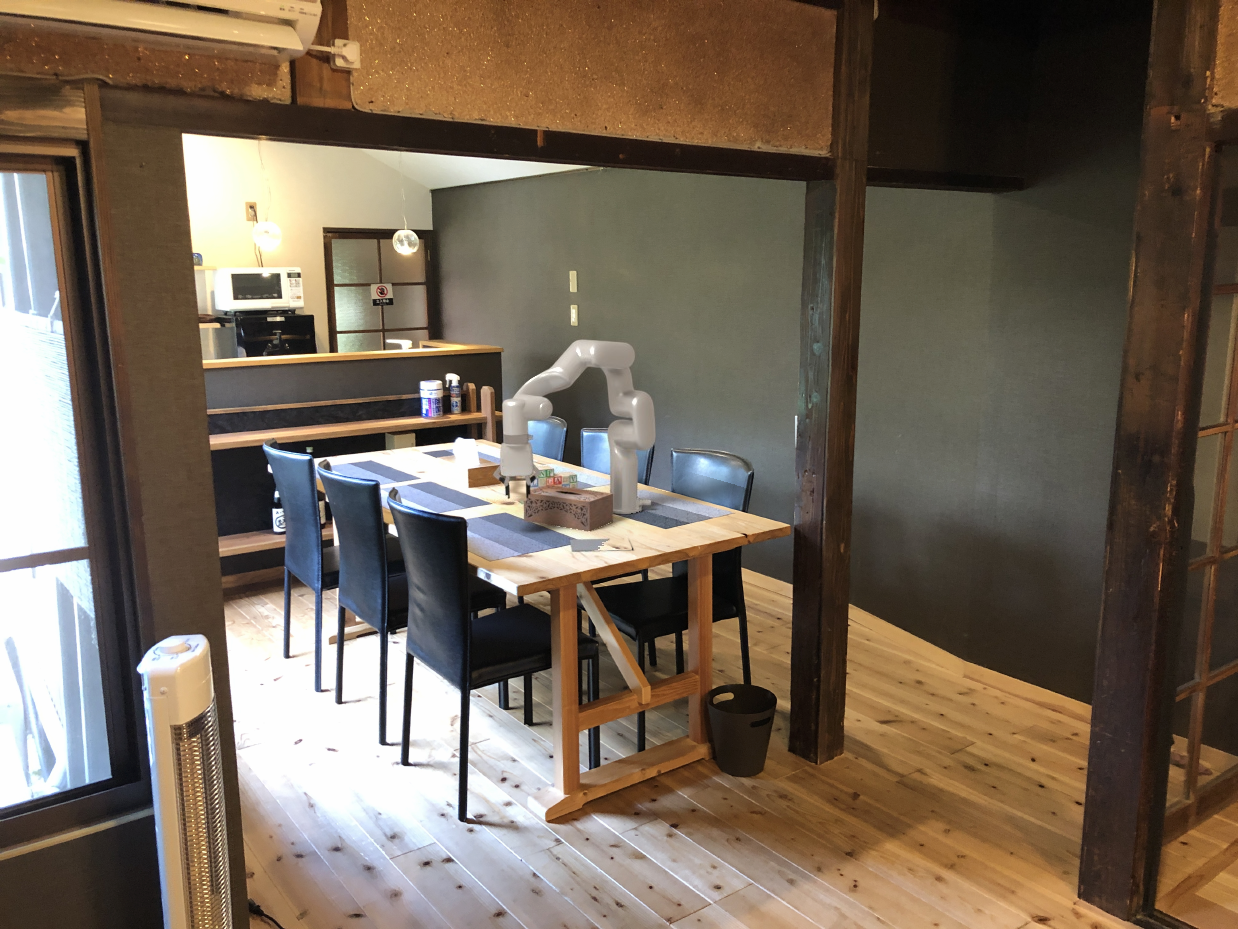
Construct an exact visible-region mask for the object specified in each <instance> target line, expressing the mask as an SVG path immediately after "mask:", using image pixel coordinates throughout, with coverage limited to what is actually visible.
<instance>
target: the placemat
mask: <svg viewBox="0 0 1238 929" xmlns="http://www.w3.org/2000/svg"><path fill="white" fill-rule="evenodd" d="M608 539H609V538H589V539H587V538H585V539H583V538H581V539H578V538H577V539H569V543H570V548H571V552H572V551H585V552H593V551H592V550H598V549H600V547H598V546H604V545H602V544H604V543H602V542H606V541H608Z"/></svg>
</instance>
